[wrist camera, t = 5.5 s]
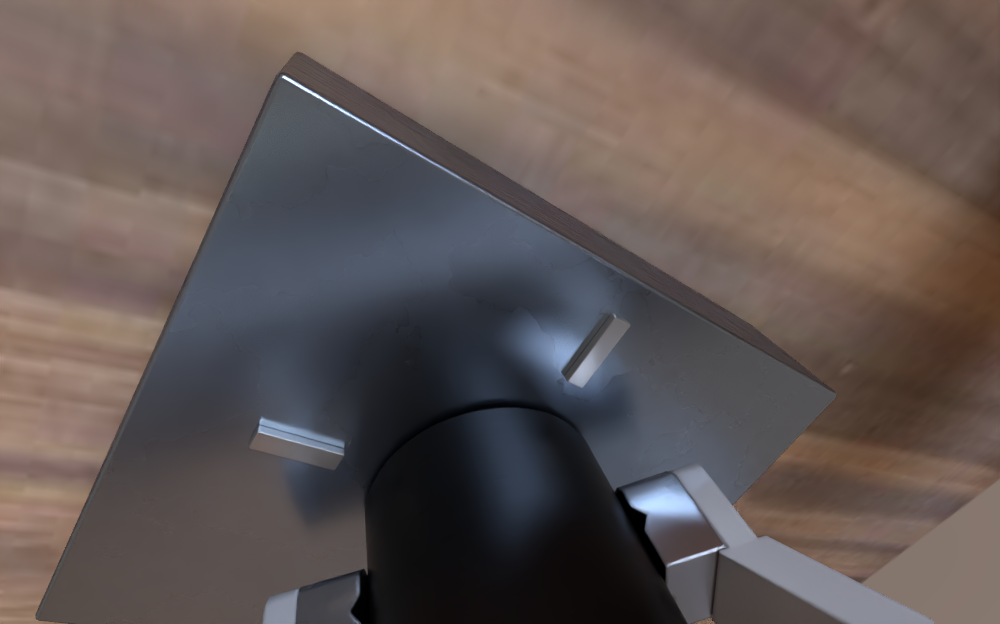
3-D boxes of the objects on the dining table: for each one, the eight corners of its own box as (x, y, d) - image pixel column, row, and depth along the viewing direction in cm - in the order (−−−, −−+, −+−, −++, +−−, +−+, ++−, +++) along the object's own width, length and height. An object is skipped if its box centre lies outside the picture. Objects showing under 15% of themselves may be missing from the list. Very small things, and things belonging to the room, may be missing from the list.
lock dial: (590, 378, 10) (744, 609, 6) (596, 537, 12) (710, 776, 8) (334, 443, 9) (331, 752, 5) (393, 599, 11) (419, 889, 8)
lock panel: (750, 324, 14) (845, 399, 11) (536, 575, 17) (572, 681, 14) (296, 49, 9) (276, 70, 6) (98, 487, 12) (27, 631, 9)
